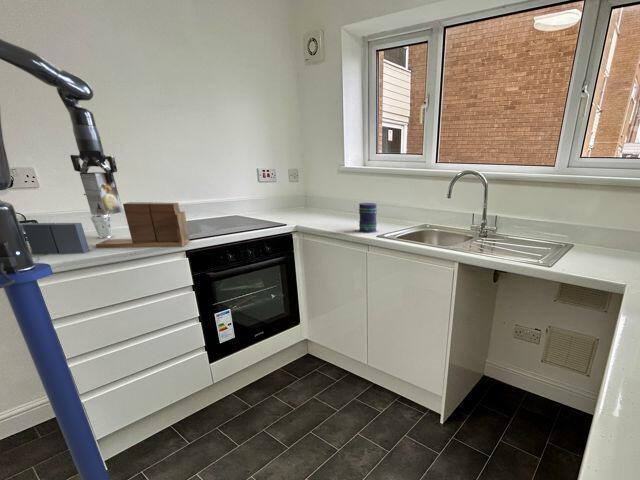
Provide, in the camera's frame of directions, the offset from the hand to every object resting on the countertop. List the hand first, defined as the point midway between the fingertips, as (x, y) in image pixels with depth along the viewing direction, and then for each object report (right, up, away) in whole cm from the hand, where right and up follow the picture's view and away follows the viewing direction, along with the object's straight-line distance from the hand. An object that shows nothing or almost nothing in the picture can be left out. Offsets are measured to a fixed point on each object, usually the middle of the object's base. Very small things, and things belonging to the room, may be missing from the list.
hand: (99, 183), depth 141 cm
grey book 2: (-7, -28, -4) cm, 29 cm away
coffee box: (0, -11, +4) cm, 12 cm away
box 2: (+20, -21, +14) cm, 32 cm away
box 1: (+11, -21, +11) cm, 27 cm away
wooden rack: (+10, -23, +12) cm, 28 cm away
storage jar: (+103, -8, +59) cm, 119 cm away
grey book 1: (-15, -29, -6) cm, 33 cm away
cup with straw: (-16, -18, +22) cm, 33 cm away
